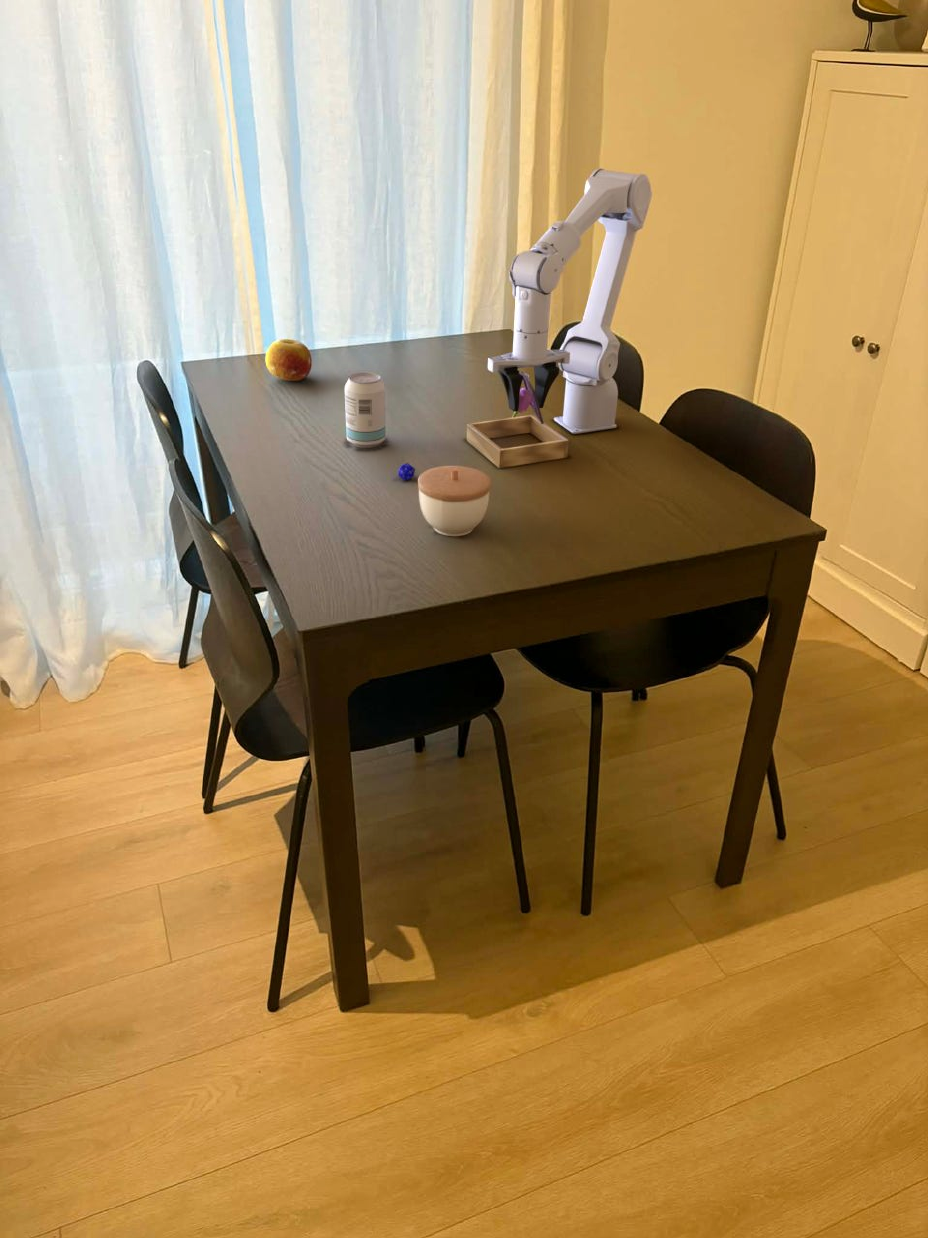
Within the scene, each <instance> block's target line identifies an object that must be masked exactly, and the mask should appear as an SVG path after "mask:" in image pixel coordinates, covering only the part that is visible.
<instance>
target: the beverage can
mask: <svg viewBox="0 0 928 1238" xmlns="http://www.w3.org/2000/svg"><path fill="white" fill-rule="evenodd" d="M385 387H386V386H385V384H384V383H383V381H382V378H381V376H380V374H378V373H374V372H368V371H362V372H360V371H359V372H354V373H351V374H349V375H348V380H347V382H346V383H345V385H344V404H345V405H344V406H345V430H346V431H345V432H346V433H345V434H346V440H347V441H348V442H350V443H351V444H352V445H353V446H355V447H357V448H360V449H372V448H376V447H377V446H379V445H380V444H381V443H382V442H384V441H385V440H386V389H385Z"/></svg>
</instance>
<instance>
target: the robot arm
mask: <svg viewBox="0 0 928 1238" xmlns="http://www.w3.org/2000/svg"><path fill="white" fill-rule="evenodd" d="M652 196H653V193H652V186H651V182H650V179H649V177H648V176H647V174H645V173H639V174H637V173H630V172H623V171H616V170H608V169H604V168H600V167H599V168H595V170H593V171H592V173H591V174H590V176H589V177H588V178H586V181H585V185H584V194H583V196H582V197H581V199H580V200H579V201H578V203H577V204H576V205H575V207H574V208H573V209H572V211H571V213H570V214H569V215H568V216H567V218H566V219H565V220H558V221H554V222H553V223H552V224H551V225H550V227H549V228H548V229H547V230H546V232H545V233H544V234H543V235H542V236H541V237H540V238H539V239H538V240H537V241H536V243H535V244H534V245H533V246H532V247H531V248H530V249H529V250H523V251H522V252H519V253H518V254H516V255H515V257H514V258H513V260H512V262H511V266H510V270H509V271H508V277H509V281H510V284H511V286H512V296H513V299H515V302H514V303H515V305H514V307H515V308H514V319H513V320H514V322H513V325H514V326H513V341H512V342H513V343H512V351H511V352H508V353H504V354H501V355H498V356H493V357H488V358H487V370H488V371H489V372H491V373H493V374H494V373H498V374H499V376H500V378H501V382H502V384H503V387H504V389H505V393H506V397H507V402H508V408H509V409H510V410H511V411H512V412H513V413H514V412H517V411H518V408H519V394H520V389H522V388H521V387H522V383H523V376H522V375H521V373H520V370H519V369H522V368H532V367H533V372H534V373H533V374H534V392H535V395H536V398H537V402H538V405H539V409H543V408H544V406H545V403H546V399H547V396H548V394H549V392H550V389H551V388H552V386H553V383H554V382H555V380H556V378H557V377H558V376H559V375H560V371H561V372H562V377H563V378H565V390H564V401H563V412H562V416H556V417H553V421H554V422H555V423H557V424H559V425H560V426H561V427H563V428H564V429H566V430H567V431H568V432H570V433H571V434H575V435H576V434H577V435H578V434H584V433H591V432H597V431H605V430H611V429H616V428H617V427H618V426H617V424H616V416H617V415H616V414H617V407H618V398H619V390H618V384H617V382H616V381H615V379H614V378H613V377H614V375H615V373H616V371H617V368H618V363H619V350H620V346H621V343H620V341H619V339H618V338H617V337H616V335H615V334H614V332H613V331H612V329H611V325H612V322H613V318H614V315H615V311H616V308H617V305H618V301H619V297H620V295H621V291H622V287H623V283H624V279H625V276H626V272H627V268H628V265H629V262H630V258H631V254H632V250H633V247H634V243H635V240H636V237H637V234H638V231H640V230H642V229H643V228H644V225H645V221H646V219H647V216H648V211H649V209H650V203H651V201H652ZM596 222H599V223H600V224H601V225H603V227H604V229H605V237H604V239H603V240H604V241H603V243H602V247H601V251H600V255H599V257H598V262H597V267H596V269H595V273H594V277H593V279H592V280H593V281H592V284H591V288H590V291H589V295H588V299H587V303H586V306H585V310H584V314H583V317H582V321H581V322H580V323H578V324H576V325H574V326H573V327H571V328H570V329H568V330H567V333H566V336H565V338H564V341H563V343H562V344H561V345H560V348H559V349H548V345H549V331H550V328H549V327H550V317H551V305H552V304H551V303H552V292H553V291H554V290H555V289H556V288H557V287H558V285H559V283H560V279H561V276H562V275H563V272H564V270H565V267H564V266H565V265H566V264H567V263H568V262H569V261H570V259H571V258H572V257H573V256H574V255H575V254H576V253H577V252H578V251H579V249H580V247H581V244H582V240H581V237H582V236H583V235H584V234H585V233H586V232H587V231H588V230H589V229H590V228H591V227H592V226H594V224H595V223H596ZM588 341H592V342H596V343H600V344H601V345H600V344H595V343H591V342H588ZM557 364H558V366H557Z"/></svg>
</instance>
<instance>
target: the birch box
mask: <svg viewBox="0 0 928 1238" xmlns="http://www.w3.org/2000/svg"><path fill="white" fill-rule="evenodd" d="M524 434H532V435H533V436H534V437H535V438H537V439H538V440H539V441H540V442H538V443H532V444H525V445H519V446H518V445H517V446H513V447H511V446H510V447H506V448H502V447H500V446H499V445H498V444H496V443H495V442H494V441H493V440H492V439H496V438H497V439H498V438H505V437H510V436H517V435H524ZM466 442H468V443H469V444H470V445H471V446H472V447H473V448H474V449H476V450H477V451H478V452H479V453H481V454H482V455H483V456H484V457H485V458H486V459H488V460H489V461H490V462H491V463H492V464H494V465H495V466H496V467H497V469H503V468H510V467H516V466H521V465H528V464H535V463H540V462H546V461H552V460H553V461H554V460H559V459H560V460H561V459H566V458H568V454H569V442H570V440H569V439H568V438H566V436H564V435H562V434H561V433H559V432H558V431H556V430H555V429H553V428H552V427H551V426H550V425H548V424H547V423H546V422H544V424H541V423H540V421H539V419H538V418H537V416H536V415H535V414H528V415H527V414H526V415H521V416H515V417H513V416H511V417H507V418H501V419H499V418H498V419H492V420H486V421H478V422H477V421H476V422H470V423H467V424H466Z"/></svg>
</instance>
